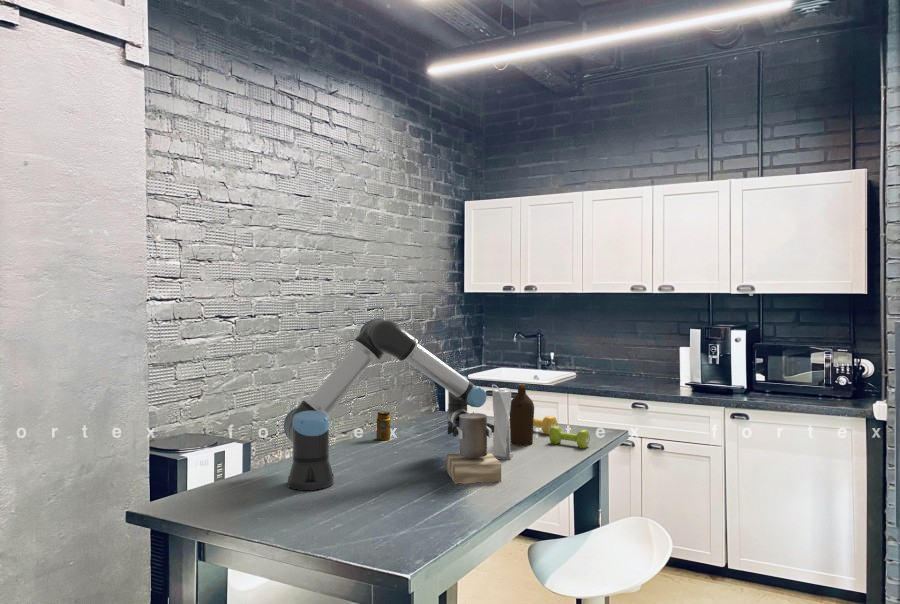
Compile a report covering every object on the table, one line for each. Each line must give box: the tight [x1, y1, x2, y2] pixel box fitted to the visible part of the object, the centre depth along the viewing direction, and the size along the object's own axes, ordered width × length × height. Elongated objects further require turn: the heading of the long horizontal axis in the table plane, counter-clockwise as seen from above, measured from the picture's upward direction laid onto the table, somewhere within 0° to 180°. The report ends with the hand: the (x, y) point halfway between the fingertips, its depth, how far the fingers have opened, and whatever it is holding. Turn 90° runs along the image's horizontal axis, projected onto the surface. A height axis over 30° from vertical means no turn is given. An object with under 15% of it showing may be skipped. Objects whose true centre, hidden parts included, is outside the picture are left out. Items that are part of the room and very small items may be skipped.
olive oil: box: [509, 383, 535, 446], centre depth 270 cm, size 11×11×25 cm
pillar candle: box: [459, 411, 488, 458], centre depth 221 cm, size 10×10×15 cm
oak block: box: [445, 451, 502, 485], centre depth 222 cm, size 16×16×6 cm
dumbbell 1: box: [533, 415, 559, 436], centre depth 293 cm, size 19×9×8 cm, turn 43°
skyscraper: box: [491, 383, 514, 460], centre depth 248 cm, size 8×8×28 cm
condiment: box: [369, 410, 395, 444], centre depth 275 cm, size 7×8×12 cm
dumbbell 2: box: [548, 425, 591, 449], centre depth 267 cm, size 16×8×7 cm, turn 54°
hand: (476, 434), depth 217 cm, fingers closed on pillar candle, 9 cm apart
